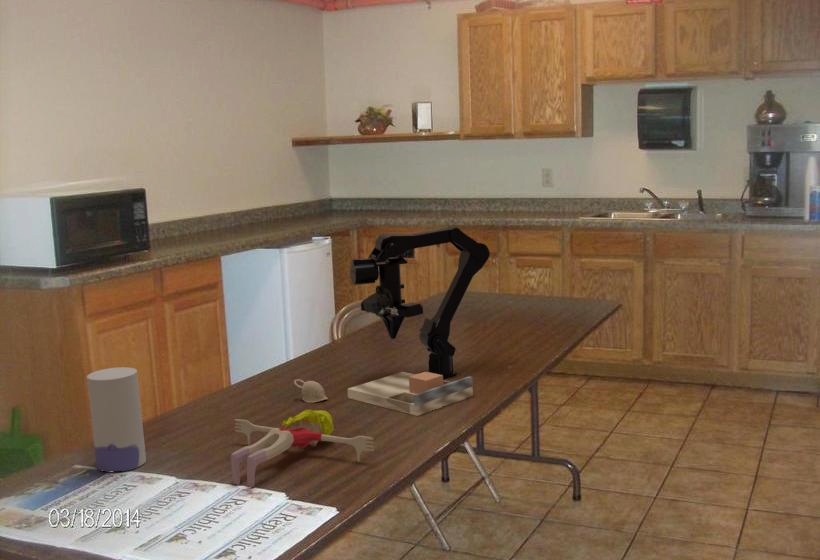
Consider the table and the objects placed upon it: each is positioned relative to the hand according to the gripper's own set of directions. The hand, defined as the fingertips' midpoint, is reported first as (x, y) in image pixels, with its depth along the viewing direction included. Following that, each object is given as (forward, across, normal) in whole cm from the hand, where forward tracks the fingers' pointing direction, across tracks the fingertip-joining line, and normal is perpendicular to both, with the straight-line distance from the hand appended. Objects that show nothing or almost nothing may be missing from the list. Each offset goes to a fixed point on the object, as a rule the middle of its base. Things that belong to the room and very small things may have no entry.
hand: (393, 338), depth 240 cm
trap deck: (+12, +14, -8) cm, 20 cm away
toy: (+13, +25, -56) cm, 62 cm away
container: (+12, -2, -79) cm, 80 cm away
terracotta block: (+10, +20, -8) cm, 23 cm away
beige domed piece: (+12, -5, -25) cm, 28 cm away
